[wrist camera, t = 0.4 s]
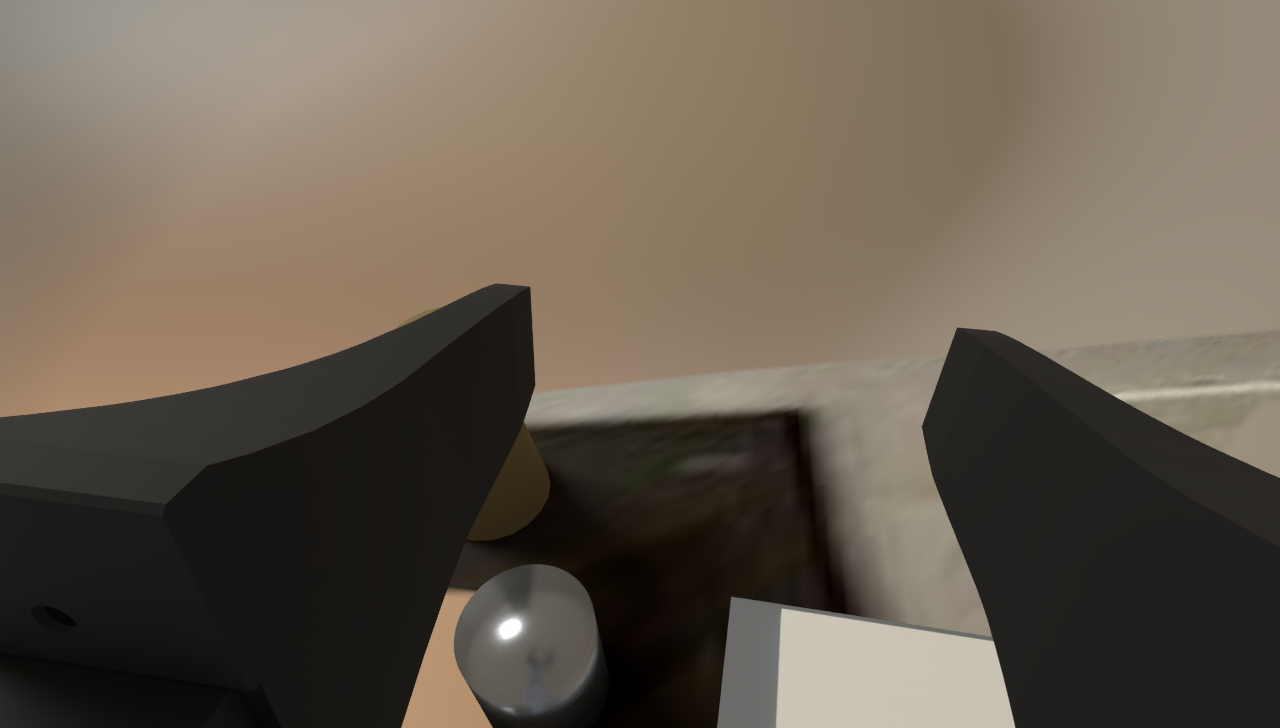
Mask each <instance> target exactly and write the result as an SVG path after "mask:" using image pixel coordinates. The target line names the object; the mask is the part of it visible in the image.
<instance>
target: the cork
mask: <svg viewBox="0 0 1280 728" xmlns="http://www.w3.org/2000/svg"><path fill="white" fill-rule="evenodd" d="M440 308H442V307H440ZM440 308H436V309H431V310H427V311H425V312H422V313H420V314H418V315H415V316H413V317H412V318H410V319H408V320H407V321H405V322H404V323H402V324H400V325H399V326H398V327H397V328H399V327H401V326H404V325H406V324H408V323H410V322H413V321H415V320H417V319H419V318H421V317H423V316H425V315H427V314H429V313H432V312H434V311H436V310H438V309H440ZM397 328H396V329H397ZM549 490H550V479H549V475H548V471H547V469H546V467H545V464H544V462H543V460H542V458H541V456H540V454H539V452H538V450H537V448H536V446H535V444H534V442H533V440H532V438H531V436H530V434H529V432H528V429H527V427H526V425H525V423H524V422H523V425H522V427H521V430H520V432H519V434H518V436H517V438H516V440H515V442H514V445H513V447H512V449H511V451H510V453H509V455H508V457H507V459H506V461H505V463H504V465H503V467H502V469H501V471H500V473H499V475H498V477H497V479H496V481H495V483H494V484H493V486H492V488H491V490H490V492H489V494H488V496H487V498H486V500H485V502H484V504H483V506H482V508H481V510H480V512H479V514H478V516H477V518H476V520H475V522H474V524H473V526H472V528H471V530H470V533H469V535H468V537H467V539H468V540H471V541H490V540H495V539H499V538H502V537H505V536H509V535H511V534H513V533H515V532H516V531H518V530H520V529H522V528H523V527H525V526H527V525H528V524H529V523H530V522H531V521H532V520H533V519H534V518H535V517H536V516H537V515H538V514H539V513H540V512H541V510H542V508H543V506H544V505H545V503H546V501H547V499H548V497H549Z"/></svg>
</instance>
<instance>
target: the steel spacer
mask: <svg viewBox="0 0 1280 728" xmlns="http://www.w3.org/2000/svg"><path fill="white" fill-rule="evenodd" d="M454 653H455V658H456V662H457V665H458V668H459V670H460V672H461V673H462V675H463V677H464V679H465V680H466V682H467V684H468V686H469V687H470V689H471V691H472V693H473V694H474V696H475V698H476V700H477V701H478V703H479V704H480V706H481V708H482V710H483V712H484V713H485V715H486V717H487V718H488V720H489V722H490V724H491V725H492V727H493V728H593V726H594V725H595V724H596V722H597V721H598V719H599V717H600V716H601V714H602V711H603V709H604V707H605V704H606V700H607V696H608V690H609V675H608V669H607V664H606V660H605V656H604V652H603V648H602V643H601V639H600V635H599V631H598V626H597V622H596V618H595V614H594V610H593V605H592V602H591V599H590V597H589V595H588V593H587V591H586V589H585V588H584V587H583V585H582V584H581V583H580V582H579V581H578V580H577V579H576V578H575V577H574V576H572V575H571V574H569V573H568V572H566V571H564V570H562V569H559V568H557V567H553V566H549V565H540V564H533V565H524V566H519V567H515V568H512V569H509V570H507V571H504V572H502V573H500V574H498V575H497V576H495V577H493V578H492V579H490V580H489V581H488V582H486V583H485V584H484V585H483V586H481V587H480V588H479V589H478V590H477V591H476V592H475V594H474V595H473V596H472V597H471V598H470V600H469V601H468V603H467V604H466V606H465V607H464V609H463V611H462V613H461V615H460V618H459V620H458V623H457V626H456V630H455V637H454Z"/></svg>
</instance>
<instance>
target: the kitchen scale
mask: <svg viewBox="0 0 1280 728" xmlns="http://www.w3.org/2000/svg"><path fill="white" fill-rule="evenodd" d="M717 728H1015V724H1014V720H1013V716H1012V712H1011V707H1010V703H1009V699H1008V695H1007V691H1006V686H1005V682H1004V678H1003V674H1002V671H1001V667H1000V663H999V659H998V656H997V652H996V648H995V645H994V641H993V637H989V636H983V635H976V634H970V633H963V632H957V631H950V630H944V629H937V628H931V627H924V626H918V625H911V624H905V623H898V622H892V621H885V620H879V619H872V618H866V617H859V616H853V615H846V614H840V613H833V612H827V611H820V610H814V609H807V608H801V607H794V606H788V605H781V604H775V603H768V602H762V601H755V600H749V599H742V598H736V597H731V605H730V615H729V624H728V633H727V642H726V652H725V661H724V670H723V680H722V689H721V698H720V707H719V717H718V726H717Z"/></svg>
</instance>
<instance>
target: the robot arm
mask: <svg viewBox="0 0 1280 728" xmlns="http://www.w3.org/2000/svg"><path fill="white" fill-rule="evenodd" d="M534 387H535V370H534V350H533V331H532V314H531V293H530V287H527V286H517V285H506V284H493V285H490V286H487V287H485V288H482V289H480V290H478V291H475V292H473V293H471V294H469V295H467V296H465V297H463V298H461V299H458V300H456V301H454V302H452V303H450V304H448V305H446V306H444V307H442V308H440V309H438V310H436V311H434V312H432V313H429V314H427V315H425V316H423V317H421V318H419V319H417V320H415V321H413V322H410V323H408V324H406V325H404V326H401V327H399V328H397V329H395V330H392V331H390V332H387V333H385V334H383V335H380V336H378V337H376V338H374V339H371V340H369V341H367V342H364V343H362V344H359V345H357V346H354V347H351V348H349V349H346V350H343V351H340V352H338V353H335V354H332V355H329V356H326V357H323V358H320V359H317V360H314V361H310V362H308V363H304V364H301V365H298V366H295V367H291V368H288V369H284V370H280V371H276V372H272V373H268V374H264V375H260V376H256V377H252V378H248V379H244V380H241V381H237V382H233V383H229V384H225V385H220V386H216V387H211V388H206V389H201V390H196V391H191V392H186V393H181V394H175V395H170V396H163V397H158V398H152V399H146V400H141V401H134V402H127V403H121V404H114V405H107V406H97V407H89V408H81V409H73V410H65V411H56V412H47V413H39V414H30V415H20V416H10V417H1V418H0V728H401V727H402V723H403V720H404V717H405V714H406V711H407V708H408V705H409V701H410V698H411V695H412V692H413V689H414V686H415V683H416V679H417V676H418V673H419V670H420V667H421V664H422V661H423V657H424V654H425V652H426V649H427V646H428V643H429V640H430V637H431V634H432V631H433V628H434V626H435V623H436V620H437V617H438V614H439V611H440V608H441V605H442V602H443V599H444V597H445V594H446V591H447V589H448V586H449V583H450V581H451V578H452V575H453V572H454V570H455V567H456V564H457V562H458V559H459V556H460V554H461V551H462V548H463V546H464V544H465V542H466V539H467V537H468V535H469V533H470V530H471V528H472V526H473V524H474V522H475V520H476V518H477V516H478V514H479V512H480V510H481V508H482V506H483V504H484V502H485V500H486V498H487V496H488V494H489V492H490V490H491V488H492V486H493V484H494V483H495V481H496V479H497V477H498V475H499V473H500V471H501V469H502V467H503V465H504V463H505V461H506V459H507V457H508V455H509V453H510V451H511V449H512V447H513V445H514V442H515V440H516V438H517V436H518V434H519V432H520V430H521V427H522V425H523V422H524V419H525V416H526V413H527V410H528V407H529V403H530V400H531V397H532V394H533V391H534ZM922 429H923V435H924V440H925V445H926V450H927V455H928V459H929V463H930V467H931V471H932V476H933V479H934V481H935V484H936V487H937V489H938V492H939V495H940V497H941V500H942V502H943V505H944V507H945V510H946V513H947V515H948V518H949V520H950V523H951V525H952V528H953V530H954V533H955V535H956V538H957V540H958V543H959V545H960V548H961V550H962V553H963V555H964V558H965V560H966V563H967V565H968V568H969V570H970V573H971V575H972V578H973V580H974V583H975V585H976V588H977V590H978V593H979V596H980V599H981V601H982V604H983V607H984V610H985V613H986V616H987V619H988V622H989V626H990V630H991V634H992V637H993V641H994V645H995V648H996V652H997V656H998V659H999V663H1000V667H1001V671H1002V674H1003V678H1004V682H1005V686H1006V691H1007V695H1008V699H1009V703H1010V707H1011V712H1012V716H1013V720H1014V724H1015V728H1280V478H1278V477H1276V476H1274V475H1271V474H1269V473H1267V472H1265V471H1262V470H1260V469H1258V468H1256V467H1253V466H1251V465H1249V464H1247V463H1245V462H1243V461H1240V460H1238V459H1236V458H1233V457H1231V456H1229V455H1227V454H1225V453H1223V452H1220V451H1218V450H1216V449H1214V448H1212V447H1210V446H1208V445H1206V444H1203V443H1201V442H1199V441H1197V440H1195V439H1193V438H1191V437H1189V436H1187V435H1185V434H1183V433H1181V432H1179V431H1177V430H1176V429H1174V428H1172V427H1170V426H1168V425H1166V424H1164V423H1162V422H1160V421H1159V420H1157V419H1155V418H1153V417H1151V416H1149V415H1147V414H1145V413H1143V412H1141V411H1140V410H1138V409H1136V408H1134V407H1132V406H1131V405H1129V404H1127V403H1125V402H1123V401H1122V400H1120V399H1118V398H1116V397H1115V396H1113V395H1111V394H1109V393H1108V392H1106V391H1104V390H1102V389H1101V388H1099V387H1097V386H1095V385H1094V384H1092V383H1090V382H1089V381H1087V380H1085V379H1083V378H1082V377H1080V376H1078V375H1077V374H1075V373H1073V372H1072V371H1070V370H1068V369H1066V368H1065V367H1063V366H1061V365H1060V364H1058V363H1056V362H1054V361H1053V360H1051V359H1049V358H1048V357H1046V356H1044V355H1042V354H1041V353H1039V352H1037V351H1035V350H1034V349H1032V348H1030V347H1028V346H1026V345H1024V344H1023V343H1021V342H1019V341H1017V340H1015V339H1013V338H1011V337H1009V336H1006V335H1004V334H1002V333H999V332H996V331H988V330H977V329H966V328H957V329H956V332H955V335H954V338H953V341H952V344H951V346H950V349H949V352H948V355H947V358H946V360H945V363H944V366H943V369H942V372H941V374H940V377H939V380H938V383H937V386H936V388H935V391H934V394H933V397H932V400H931V402H930V405H929V408H928V411H927V414H926V417H925V419H924V422H923V425H922Z"/></svg>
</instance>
